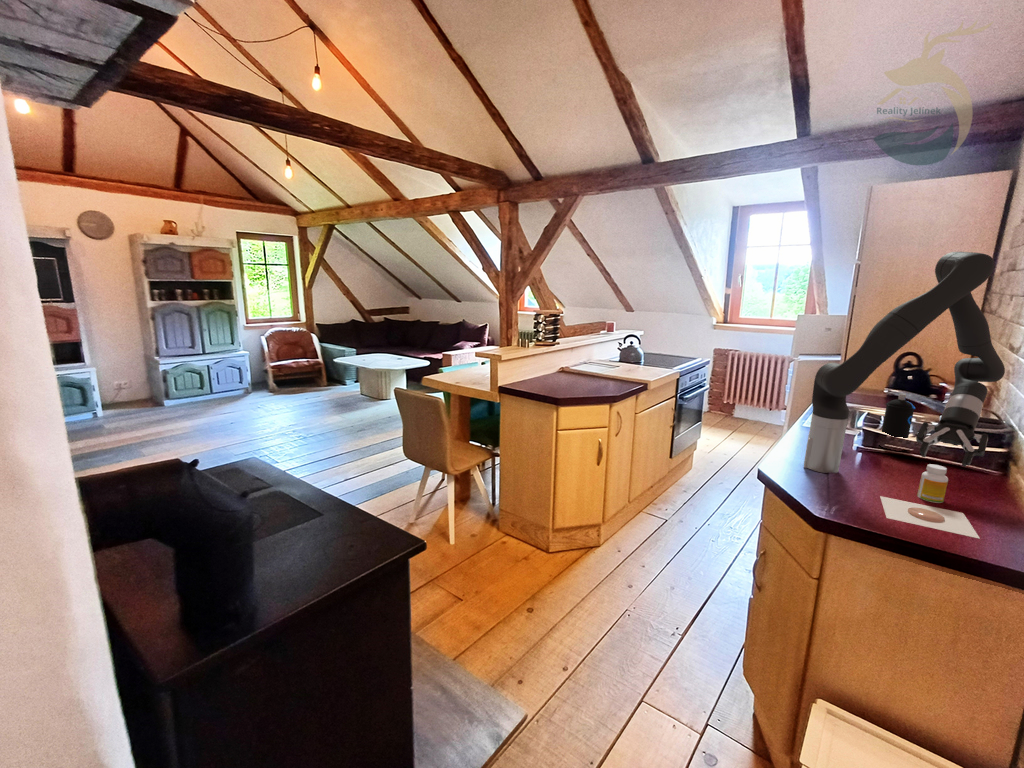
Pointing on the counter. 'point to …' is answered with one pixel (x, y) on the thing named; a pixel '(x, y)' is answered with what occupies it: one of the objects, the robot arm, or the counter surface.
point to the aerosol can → (898, 417)
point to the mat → (951, 523)
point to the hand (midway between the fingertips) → (943, 460)
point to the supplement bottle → (933, 484)
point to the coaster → (926, 514)
